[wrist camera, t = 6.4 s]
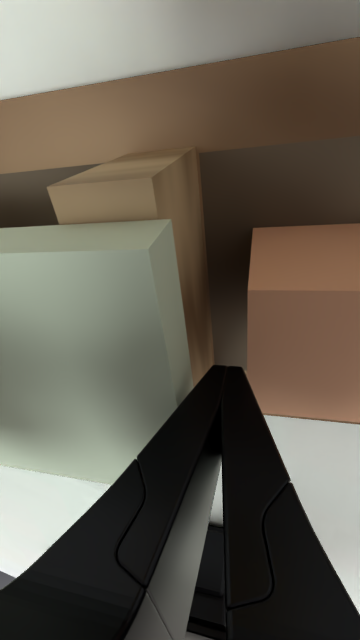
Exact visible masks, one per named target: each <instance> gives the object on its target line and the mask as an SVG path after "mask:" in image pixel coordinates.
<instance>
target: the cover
mask: <svg viewBox="0 0 360 640" xmlns="http://www.w3.org/2000/svg"><path fill="white" fill-rule="evenodd" d="M193 388H194V386H193V379H192V371H191V364H190V356H189V349H188V341H187V334H186V326H185V318H184V311H183V303H182V296H181V288H180V281H179V273H178V266H177V258H176V251H175V243H174V236H173V228H172V221H171V219H161V220H142V221H124V222H105V223H87V224H69V225H50V226H32V227H13V228H0V465H1V466H6V467H12V468H18V469H24V470H29V471H35V472H41V473H47V474H52V475H58V476H64V477H69V478H75V479H81V480H87V481H92V482H98V483H104V484H110V485H112V484H113V483H114V482H115V481H116V480H117V479H118V478H119V476H120V475H121V474H122V473H123V472H124V471H125V470H126V468H127V467H128V466H129V465H130V463H131V462H132V461H133V460H134V459H137V455H138V454H139V453H140V452H141V450H142V449H143V448H144V447H145V446H146V444H147V443H148V442H149V441H150V440H151V438H152V437H153V436H154V435H155V434H156V432H157V431H158V430H159V429H160V428H161V426H162V425H163V424H164V423H165V422H166V420H167V419H168V418H169V417H170V416H171V414H172V413H173V412H174V411H175V410H176V408H177V407H178V406H179V405H180V404H181V402H182V401H183V400H184V399H185V398H186V396H187V395H188V394H189V393H190V392H191V390H192V389H193Z"/></svg>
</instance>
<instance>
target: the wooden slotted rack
mask: <svg viewBox="0 0 360 640" xmlns="http://www.w3.org/2000/svg"><path fill="white" fill-rule="evenodd" d="M161 219H171V221H172V228H173V236H174V243H175V251H176V258H177V266H178V273H179V281H180V288H181V296H182V303H183V311H184V318H185V326H186V334H187V341H188V349H189V356H190V364H191V371H192V379H193V386H194V387H195V386H196V384H197V383H198V382H199V381H200V380H201V378H202V377H203V376H204V375H205V374H206V372H207V371H208V370H209V369H210V368H211V366H213V365H226V366H227V367H228V366H240V367H242V368H243V369H244V371H245V374H246V376H247V313H248V280H249V269H250V257H251V245H252V234H253V228H263V227H286V226H309V225H332V224H355V223H360V37H356V38H350V39H344V40H339V41H333V42H328V43H322V44H316V45H311V46H305V47H299V48H294V49H288V50H282V51H277V52H271V53H266V54H260V55H254V56H249V57H243V58H237V59H232V60H226V61H220V62H215V63H209V64H203V65H198V66H192V67H187V68H181V69H175V70H170V71H164V72H158V73H153V74H147V75H141V76H136V77H130V78H124V79H119V80H113V81H108V82H102V83H96V84H91V85H85V86H79V87H74V88H68V89H62V90H57V91H51V92H46V93H40V94H34V95H29V96H23V97H17V98H12V99H6V100H0V228H13V227H32V226H50V225H69V224H87V223H105V222H124V221H142V220H161ZM262 414H263V415H271V416H281V417H291V418H301V419H311V420H321V421H331V422H341V423H351V424H360V423H358V422H348V421H338V420H328V419H318V418H308V417H297V416H287V415H277V414H267V413H262Z"/></svg>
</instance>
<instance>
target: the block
mask: <svg viewBox="0 0 360 640" xmlns="http://www.w3.org/2000/svg"><path fill="white" fill-rule="evenodd" d="M247 378H248V381H249V383H250V385H251V388H252V390H253V392H254V395H255V397H256V400H257V402H258V404H259V407H260V409H261V411H262V413H267V414H277V415H287V416H297V417H308V418H318V419H328V420H338V421H348V422H358V423H360V223H355V224H332V225H309V226H286V227H263V228H253V234H252V245H251V257H250V269H249V280H248V313H247Z"/></svg>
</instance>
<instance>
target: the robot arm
mask: <svg viewBox="0 0 360 640" xmlns="http://www.w3.org/2000/svg"><path fill="white" fill-rule="evenodd" d="M221 462H222V495H223V528H218V527H212V526H208V523H209V519H210V514H211V509H212V504H213V500H214V495H215V490H216V485H217V481H218V476H219V471H220V466H221ZM290 481H291V479H290V477H289V475H288V472H287V470H286V468H285V465H284V463H283V461H282V458H281V456H280V454H279V451H278V449H277V446H276V444H275V442H274V439H273V437H272V435H271V432H270V430H269V428H268V425H267V423H266V421H265V418H264V416H263V414H262V411H261V409H260V407H259V404H258V402H257V400H256V397H255V395H254V392H253V390H252V388H251V385H250V383H249V381H248V378H247V376H246V374H245V371H244V369H243V368H242V367H240V366H228V367H227V366H226V365H213V366H211V368H210V369H209V370H208V371H207V372H206V374H205V375H204V376H203V377H202V378H201V380H200V381H199V382H198V383H197V384H196V386H195V387H194V388H193V389H192V390H191V392H190V393H189V394H188V395H187V396H186V398H185V399H184V400H183V401H182V402H181V404H180V405H179V406H178V407H177V408H176V410H175V411H174V412H173V413H172V414H171V416H170V417H169V418H168V419H167V420H166V422H165V423H164V424H163V425H162V426H161V428H160V429H159V430H158V431H157V432H156V434H155V435H154V436H153V437H152V438H151V440H150V441H149V442H148V443H147V444H146V446H145V447H144V448H143V449H142V450H141V452H140V453H139V454H138V455H137V459H134V460H133V461H132V462H131V463H130V465H129V466H128V467H127V468H126V470H125V471H124V472H123V473H122V474H121V475H120V476H119V478H118V479H117V480H116V481H115V482H114V483H113V484H112V486H111V487H110V488H109V489H108V490H107V491H106V492H105V493H104V494H103V495H102V496H101V497H100V498H99V499H98V500H97V501H96V502H95V503H94V504H93V505H92V506H91V508H90V509H89V510H88V511H87V512H86V513H85V514H84V515H82V516H81V517H80V518H79V519H78V520H77V521H76V522H75V523H74V524H73V525H72V526H71V527H70V528H69V529H68V530H67V531H66V532H65V533H64V534H63V535H62V536H61V537H60V538H59V539H58V540H57V541H56V542H55V543H54V544H53V545H52V546H51V547H50V548H49V549H48V550H47V551H46V552H45V553H44V554H43V555H42V556H41V557H40V558H39V559H38V560H37V561H36V562H34V563H33V564H32V565H31V566H30V567H29V568H28V569H27V570H26V571H24V572H23V573H22V574H21V575H20V576H19V577H17V578H16V579H15V580H13V581H12V582H11V583H9V584H8V585H7V586H5V587H4V588H2V589H1V590H0V640H360V614H359V612H358V611H357V609H356V607H355V605H354V603H353V602H352V600H351V598H350V596H349V594H348V593H347V591H346V589H345V587H344V586H343V584H342V582H341V580H340V578H339V577H338V575H337V573H336V571H335V569H334V568H333V566H332V564H331V562H330V561H329V559H328V557H327V555H326V553H325V551H324V549H323V547H322V545H321V543H320V541H319V540H318V538H317V536H316V534H315V532H314V530H313V528H312V526H311V524H310V522H309V519H308V517H307V515H306V513H305V511H304V509H303V507H302V504H301V502H300V500H299V498H298V495H297V493H296V491H295V488H294V486H293V484H292V483H291V482H290Z"/></svg>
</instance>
